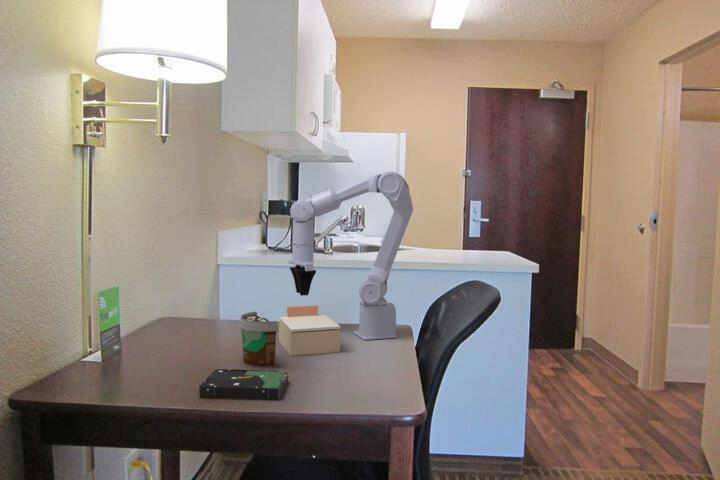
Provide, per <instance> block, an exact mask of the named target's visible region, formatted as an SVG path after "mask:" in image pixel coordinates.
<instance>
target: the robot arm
mask: <svg viewBox="0 0 720 480" xmlns="http://www.w3.org/2000/svg"><path fill="white" fill-rule="evenodd" d="M366 193H367V194H368V193H375V194H376V193H377V194H379V193H380V194H382V195H383V196H384V197H385V198H386V199H387V200H388V202H389V204H390V206H391V208H392V209H393V213H392V215H391V218H390V221H389V224H388V226H387V227H386V231H385V233H384V237H383V239H382V242H381V245H380V247H379V250H378V252H377V254H376V257H375V260H374V263H373V265H372V268H371V269H370V272H369V273H368V276H367V279H366V280H365V281H364V282H363V283H362V284H361V285H360V287H359V289H358V294H359V298H360V300H359V319H358V321H359V324H358V325H359V326H358V329H359V330H355V331H353V333H354V334H355V335H356V336H358V337H359V338H361V339H362V340H364V341H370V340H382V339H394V338H395V339H396V338H397V333H396V332H397V311H396V310H397V309H396V306H395V305H394V304H395V303H392V302H387V299H386V298H385V297H384V296H385V295H386V294H387V291H388V279H389V278H390V273H391V269H392V267H393V264H394V261H395V259H396V257H397V254H398V251H399V249H400V246H401V244H402V242H403V238H404V236H405V233H406V230H407V228H408V225H409V223H410V220H411V217H412V215H413V213H414V205H413V201H412V196H411V193H410V187H409V184H408V183H407V181H406V179H405V178H404V176H402V175H401V174H399V173H397V172H395V171H393V170H390V171H389V170H388V171H385V172H383V173H379V174H374V175H372V176H368V177H365V178H364V179H361V180H358V181H357V182H355V183H353V184H350V185H348V186H346V187H343V188H341V189H338V190H335V189H333V188H323V189H321V192H319V193H317V194H314V195H307V196H305V199H297V200H296V201H295V202H293V203H292V204H291V207H290V209H289V213H290V215H291V217H292V255H291V256H292V257H291V259H290V260H287V264H290V265H291V264H292V265H293V266H294V265H295V266H294V267H293V266H292V267H291V266H290V267H289V270H290V272H291V274H292V277H293V280H294V286H295V287H294V288H295V291H296V293H297V294H299V295H300V296H303V297H304V296H309V294H310V290H311V285H312V281H313V279H314V277H315V275H316V273H317V270H316V269H314V264H315V260H314V247H315V246H314V241H315V240H314V235H315V234H314V233H315V229H314V228H315V227H314V225H315V224H314V223H315V222H314V219H315V218H316V217H321V216H323V215H325V214H328V213H330V212H333V211H335V210H338V209H340V206H341V204H342V202H345V201H349V200H351V199H354V198H356V197H359V196H361V195H364V194H366Z"/></svg>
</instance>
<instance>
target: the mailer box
mask: <svg viewBox="0 0 720 480" xmlns="http://www.w3.org/2000/svg"><path fill="white" fill-rule="evenodd" d="M341 330H342V329H331V330H315V331H300V332H291V331H290V330H289V329H288V328H287V327H286V326H285V325H284V324H283V323H282V322H281V321H280V319H279V320H278V342H279V343H280V344H281V345H282V347H283V348H284V349H285V350H286V352H287V353H288V354H289V355H290V356H292V357H293V356H304V355H305V356H306V355H307V356H308V355H320V354H329V353H330V354H331V353H340V352H341Z"/></svg>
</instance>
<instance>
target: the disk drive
mask: <svg viewBox="0 0 720 480" xmlns="http://www.w3.org/2000/svg"><path fill="white" fill-rule="evenodd" d="M288 383H289V374H288V371H283V370H282V371H281V370H280V371H279V370H265V369H264V370H260V369H230V368H229V369H228V368H218V369H217V368H215V369H214V370H213V371H212V372H211V373H210V374H209V375H208V376H207V377H206V380H205V381H202V383H201V384H200V385H199V390H198V393H199V397H198V398H201V399H202V398H203V399H229V400H230V399H233V400H234V399H235V400H239V399H241V400H265V401H267V400H268V401H279V400H280V399H281V398H282V395H283V394H284V390H285V389H286V387H287V384H288Z"/></svg>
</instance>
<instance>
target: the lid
mask: <svg viewBox="0 0 720 480" xmlns="http://www.w3.org/2000/svg"><path fill="white" fill-rule="evenodd" d="M278 319H279V320H280V321H281V322H282V323H283V324H284V325H285V326H286V327H287V328H288V329H289V330H290V331H291V332H300V331H315V330H331V329H340V330H342V329H341V328H342V327H341V326H342V325H339V324H338V323H336V322H335V321H334V320H333V319H331V318H330V317H329V316H328V315H326V314H323V313H322V314H319V305H317V304H316V305H315V304H314V305H313V304H311V305H296V306H295V305H294V306H286V316H278Z"/></svg>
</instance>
